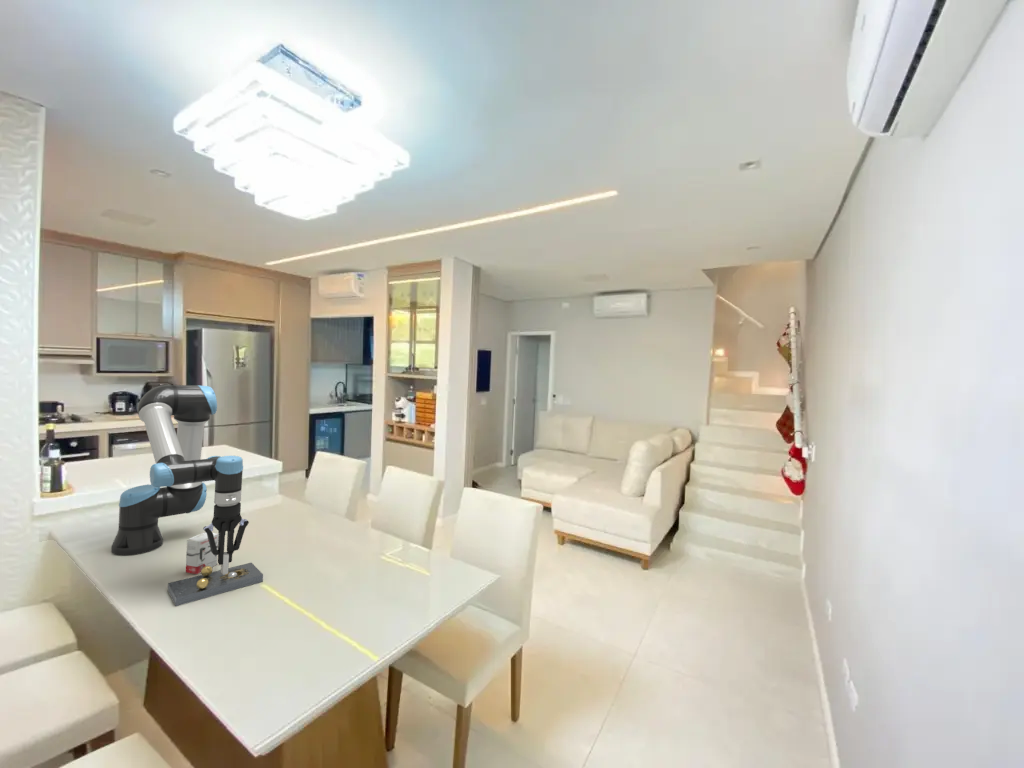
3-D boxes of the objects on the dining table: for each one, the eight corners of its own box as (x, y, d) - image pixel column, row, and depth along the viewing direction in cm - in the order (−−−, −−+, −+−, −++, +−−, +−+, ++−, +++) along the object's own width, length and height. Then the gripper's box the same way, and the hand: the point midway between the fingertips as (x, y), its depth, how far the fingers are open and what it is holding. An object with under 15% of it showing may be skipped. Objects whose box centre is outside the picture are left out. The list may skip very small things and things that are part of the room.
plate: (175, 606, 132) (176, 598, 132) (167, 590, 140) (168, 583, 140) (262, 581, 149) (263, 574, 149) (251, 569, 157) (251, 562, 157)
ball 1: (199, 575, 146) (200, 566, 146) (210, 572, 148) (211, 563, 148) (202, 578, 144) (202, 569, 144) (213, 576, 146) (213, 566, 146)
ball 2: (195, 588, 138) (195, 578, 138) (207, 584, 140) (207, 575, 140) (197, 592, 136) (198, 581, 136) (209, 588, 138) (210, 578, 138)
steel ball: (223, 579, 148) (229, 569, 149) (233, 582, 149) (239, 573, 151) (225, 580, 145) (231, 570, 147) (234, 583, 147) (240, 574, 148)
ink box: (196, 575, 151) (198, 541, 151) (184, 572, 152) (186, 539, 152) (217, 564, 159) (219, 532, 159) (206, 562, 160) (208, 530, 160)
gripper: (207, 509, 138) (203, 583, 139) (253, 502, 148) (249, 571, 148) (201, 503, 143) (198, 574, 144) (246, 497, 153) (242, 563, 153)
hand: (224, 572), depth 146 cm, fingers closed
